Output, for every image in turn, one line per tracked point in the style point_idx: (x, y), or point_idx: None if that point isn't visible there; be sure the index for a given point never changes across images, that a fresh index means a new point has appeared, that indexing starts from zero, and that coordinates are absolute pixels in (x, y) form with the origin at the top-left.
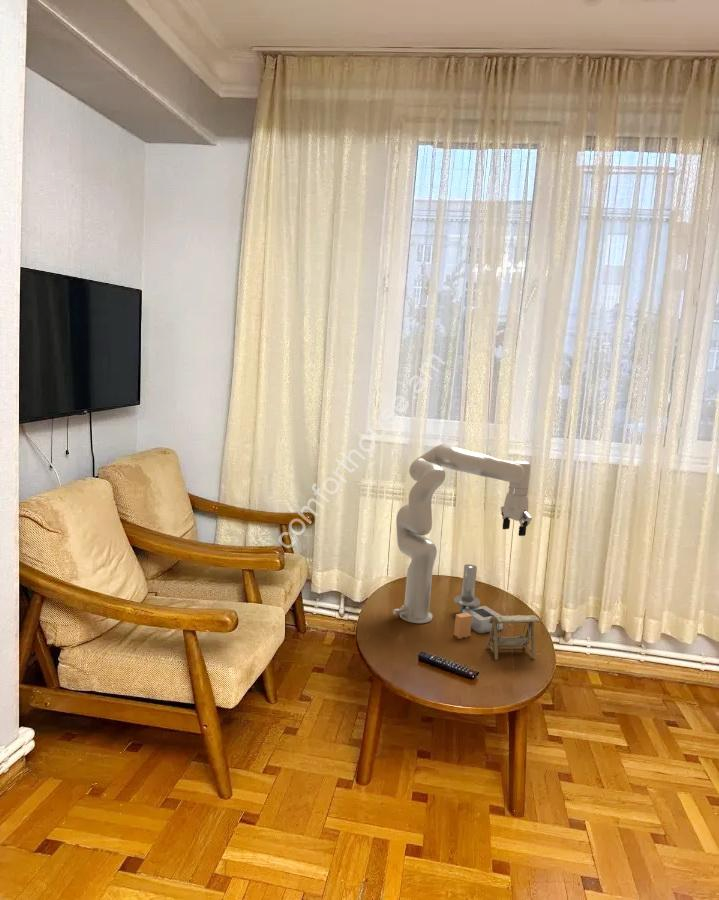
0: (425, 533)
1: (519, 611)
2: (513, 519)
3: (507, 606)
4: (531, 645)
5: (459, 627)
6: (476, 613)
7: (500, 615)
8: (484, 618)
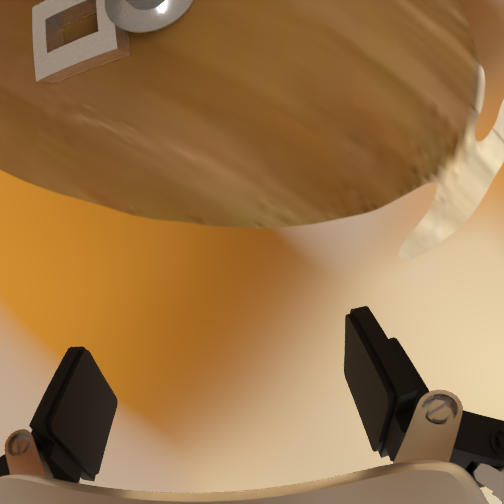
0: None
1: (161, 194)
2: (84, 486)
3: (204, 175)
4: None
5: None
6: (72, 4)
7: (44, 73)
8: (39, 20)
